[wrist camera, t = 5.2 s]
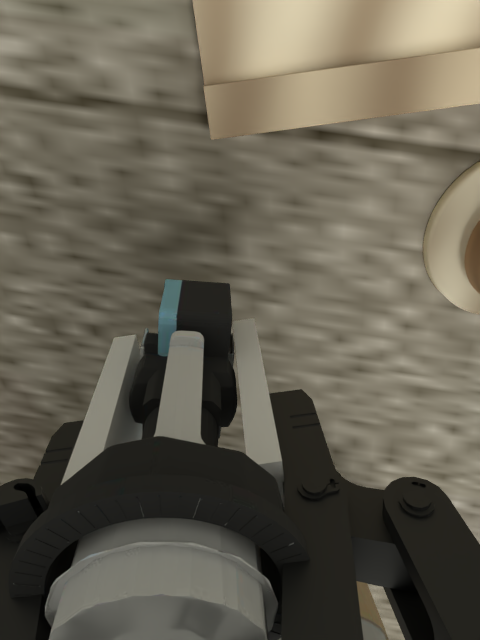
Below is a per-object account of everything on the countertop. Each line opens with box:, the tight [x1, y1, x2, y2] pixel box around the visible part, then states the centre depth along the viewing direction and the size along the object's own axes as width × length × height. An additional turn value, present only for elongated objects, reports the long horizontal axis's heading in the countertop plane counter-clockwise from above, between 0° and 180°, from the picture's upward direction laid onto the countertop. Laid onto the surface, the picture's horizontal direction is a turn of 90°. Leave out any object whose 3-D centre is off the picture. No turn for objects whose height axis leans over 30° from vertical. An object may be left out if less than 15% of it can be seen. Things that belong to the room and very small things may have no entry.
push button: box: [8, 279, 310, 640], centre depth 12 cm, size 7×5×10 cm
